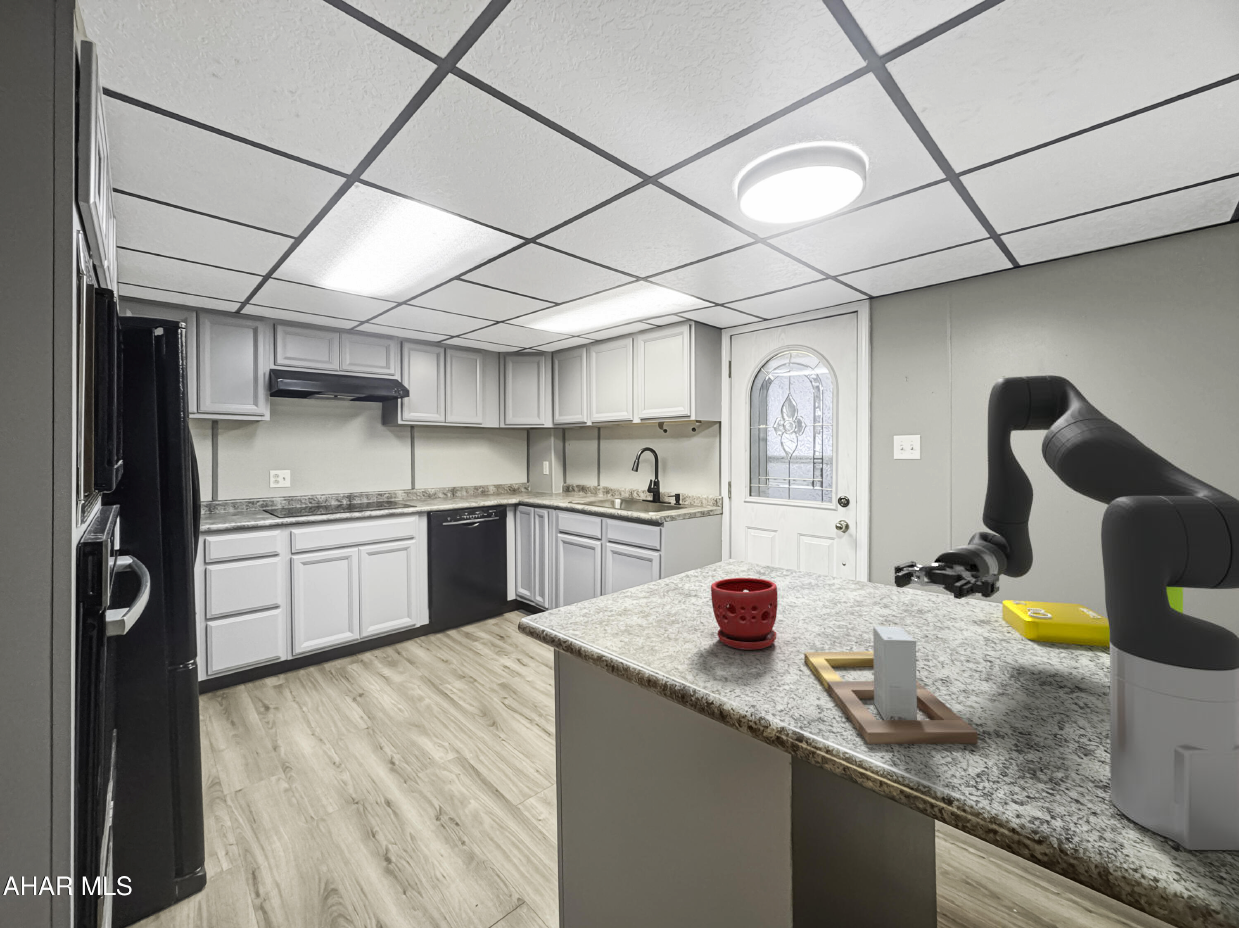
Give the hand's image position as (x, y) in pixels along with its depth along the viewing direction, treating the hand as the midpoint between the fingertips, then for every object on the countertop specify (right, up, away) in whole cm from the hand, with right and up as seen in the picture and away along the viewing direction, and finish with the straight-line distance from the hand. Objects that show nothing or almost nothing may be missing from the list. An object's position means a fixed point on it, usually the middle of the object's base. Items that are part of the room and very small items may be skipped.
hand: (926, 586), depth 82 cm
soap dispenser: (+46, -15, +10) cm, 50 cm away
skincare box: (-8, -17, -7) cm, 20 cm away
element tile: (+41, -15, +24) cm, 50 cm away
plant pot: (-23, -17, +23) cm, 37 cm away
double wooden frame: (-8, -17, -1) cm, 19 cm away
